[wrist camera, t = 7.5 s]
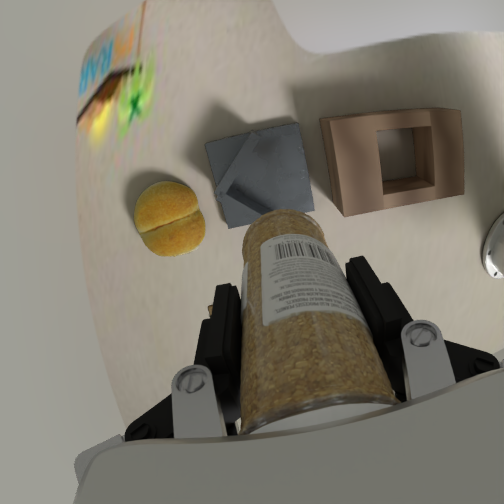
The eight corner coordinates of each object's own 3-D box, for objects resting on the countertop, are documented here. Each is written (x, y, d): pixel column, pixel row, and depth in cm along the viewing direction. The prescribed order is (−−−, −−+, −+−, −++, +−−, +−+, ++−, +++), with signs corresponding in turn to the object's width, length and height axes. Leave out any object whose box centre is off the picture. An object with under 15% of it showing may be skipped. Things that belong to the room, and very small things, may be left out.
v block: (296, 120, 30) (303, 121, 26) (313, 210, 34) (321, 224, 30) (205, 140, 31) (198, 145, 27) (229, 227, 35) (226, 244, 31)
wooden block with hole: (439, 107, 28) (460, 110, 24) (444, 183, 32) (464, 194, 28) (319, 118, 30) (329, 120, 26) (333, 203, 34) (344, 217, 30)
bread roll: (189, 170, 32) (181, 178, 29) (213, 239, 36) (209, 255, 33) (126, 192, 33) (113, 202, 30) (154, 255, 37) (144, 271, 34)
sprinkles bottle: (228, 261, 17) (199, 524, 5) (267, 190, 15) (313, 482, 3) (298, 292, 18) (342, 527, 6) (341, 229, 16) (466, 467, 4)
